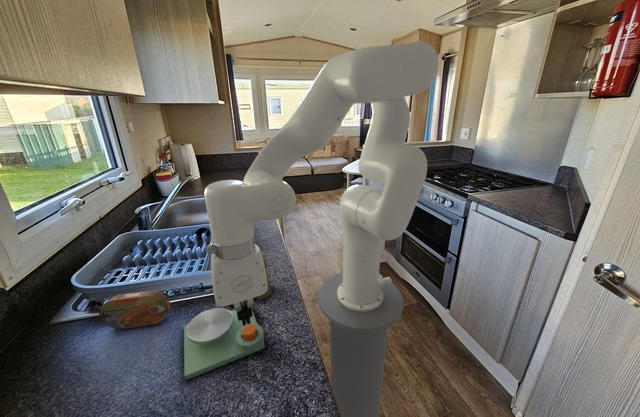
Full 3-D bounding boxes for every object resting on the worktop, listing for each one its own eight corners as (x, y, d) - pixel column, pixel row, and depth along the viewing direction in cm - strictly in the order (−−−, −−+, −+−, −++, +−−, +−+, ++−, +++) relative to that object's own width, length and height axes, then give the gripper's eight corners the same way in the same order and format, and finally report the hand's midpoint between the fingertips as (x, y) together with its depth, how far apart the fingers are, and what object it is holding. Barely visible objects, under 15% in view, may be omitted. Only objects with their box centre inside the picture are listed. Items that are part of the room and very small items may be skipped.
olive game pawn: (265, 301, 72) (260, 267, 68) (246, 297, 74) (241, 263, 70) (275, 287, 77) (272, 255, 73) (257, 284, 79) (253, 252, 75)
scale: (252, 307, 70) (251, 298, 69) (267, 349, 58) (266, 338, 57) (185, 330, 63) (182, 320, 62) (185, 382, 51) (182, 371, 50)
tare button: (254, 328, 60) (254, 322, 59) (258, 337, 58) (257, 331, 57) (241, 333, 59) (240, 327, 58) (244, 343, 56) (243, 337, 56)
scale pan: (230, 305, 67) (229, 302, 66) (236, 333, 58) (236, 330, 58) (186, 319, 63) (186, 316, 62) (187, 351, 54) (186, 348, 54)
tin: (104, 331, 64) (92, 303, 60) (112, 321, 66) (101, 294, 63) (170, 322, 66) (162, 295, 62) (174, 313, 68) (167, 287, 65)
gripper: (192, 265, 44) (210, 347, 50) (278, 245, 50) (284, 320, 56) (191, 245, 50) (207, 320, 56) (267, 230, 56) (273, 299, 63)
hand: (245, 320), depth 56 cm, fingers closed
